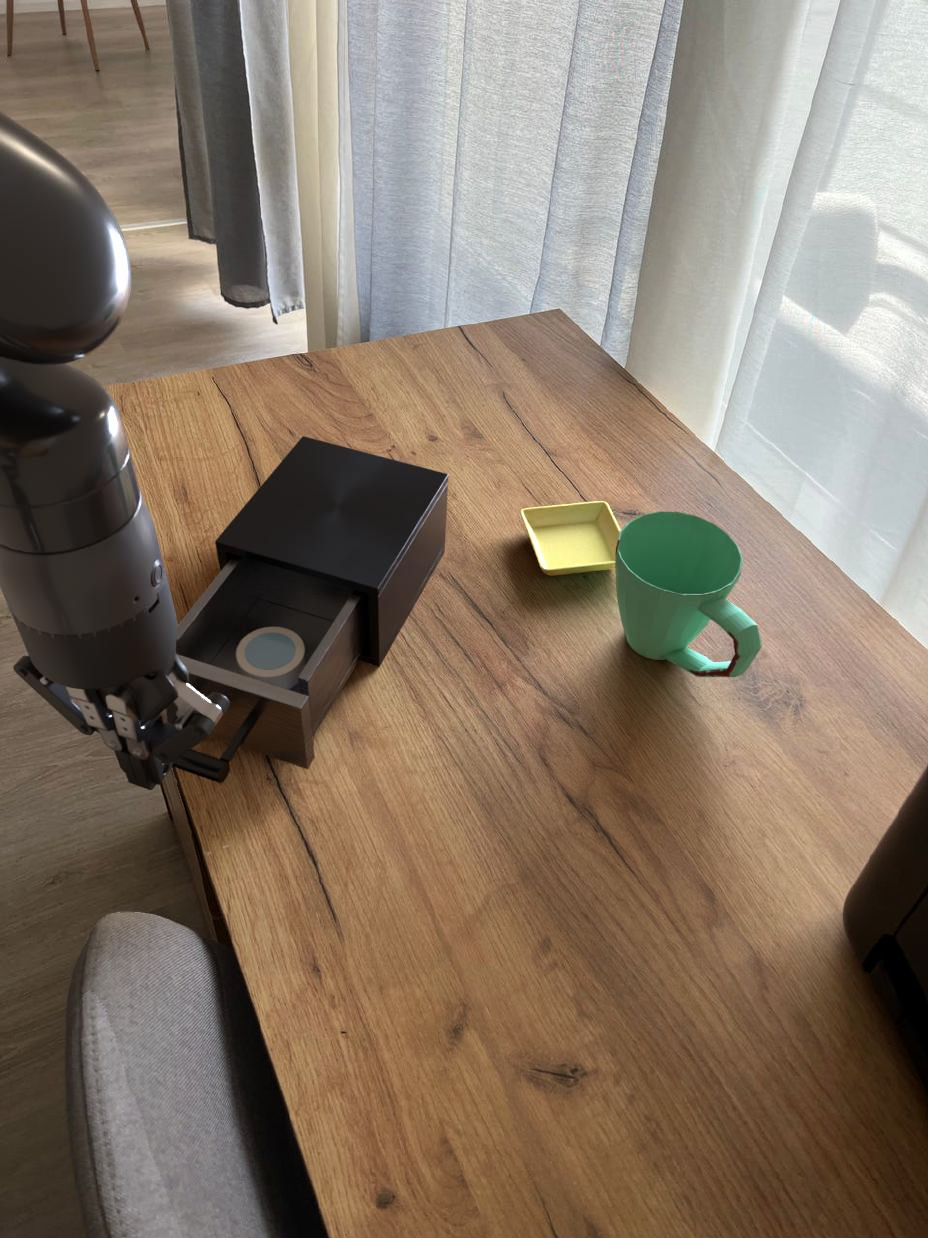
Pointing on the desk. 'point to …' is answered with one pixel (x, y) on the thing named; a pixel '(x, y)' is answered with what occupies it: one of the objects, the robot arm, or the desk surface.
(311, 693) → the drawer
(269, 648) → the button
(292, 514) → the black box
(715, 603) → the mug
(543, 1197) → the desk surface
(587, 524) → the yellow square dish
